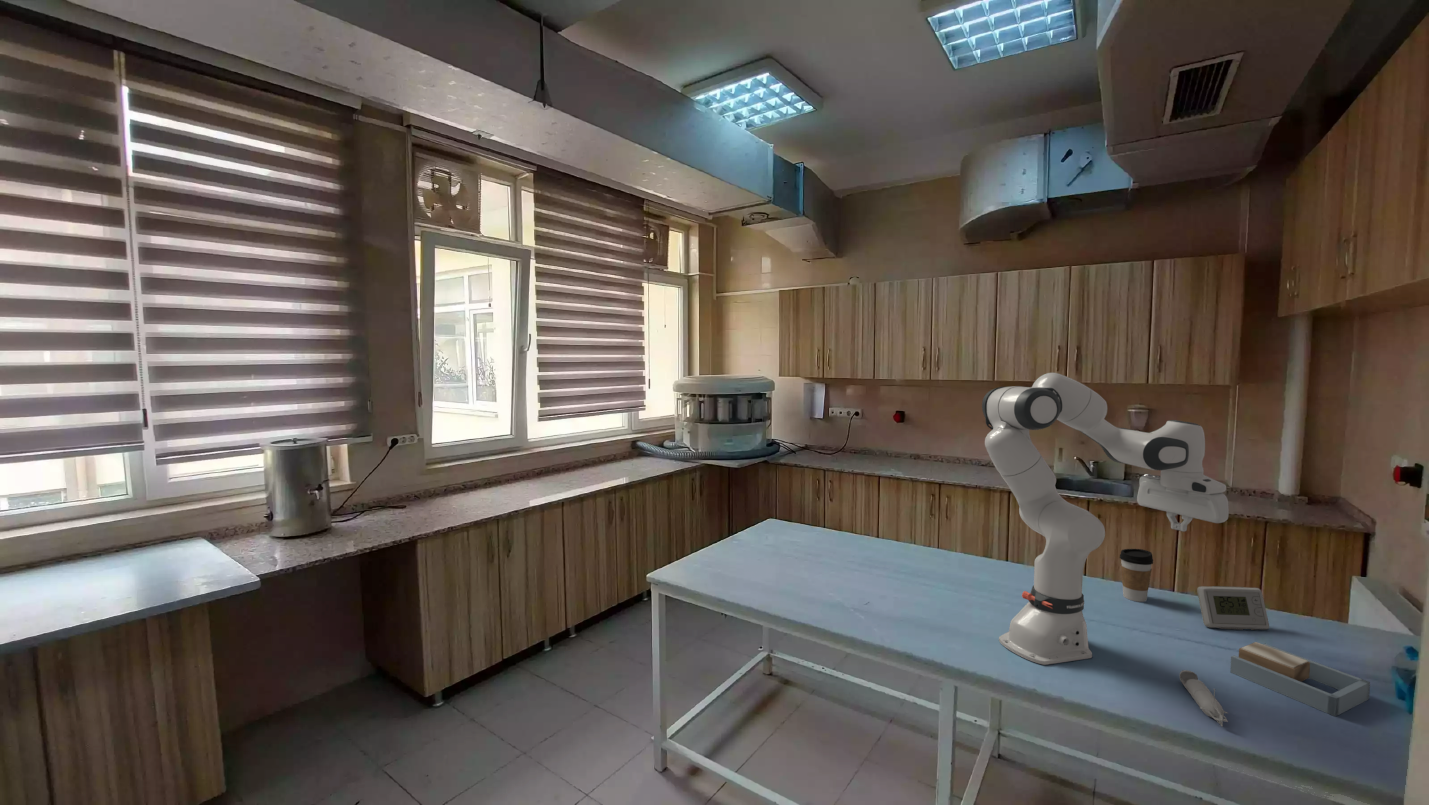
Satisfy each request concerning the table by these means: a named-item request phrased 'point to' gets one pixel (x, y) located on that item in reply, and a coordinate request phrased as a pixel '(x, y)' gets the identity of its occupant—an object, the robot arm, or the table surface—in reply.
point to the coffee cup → (1136, 573)
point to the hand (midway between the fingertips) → (1178, 529)
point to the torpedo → (1203, 696)
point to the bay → (1333, 704)
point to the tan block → (1276, 661)
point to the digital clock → (1232, 607)
